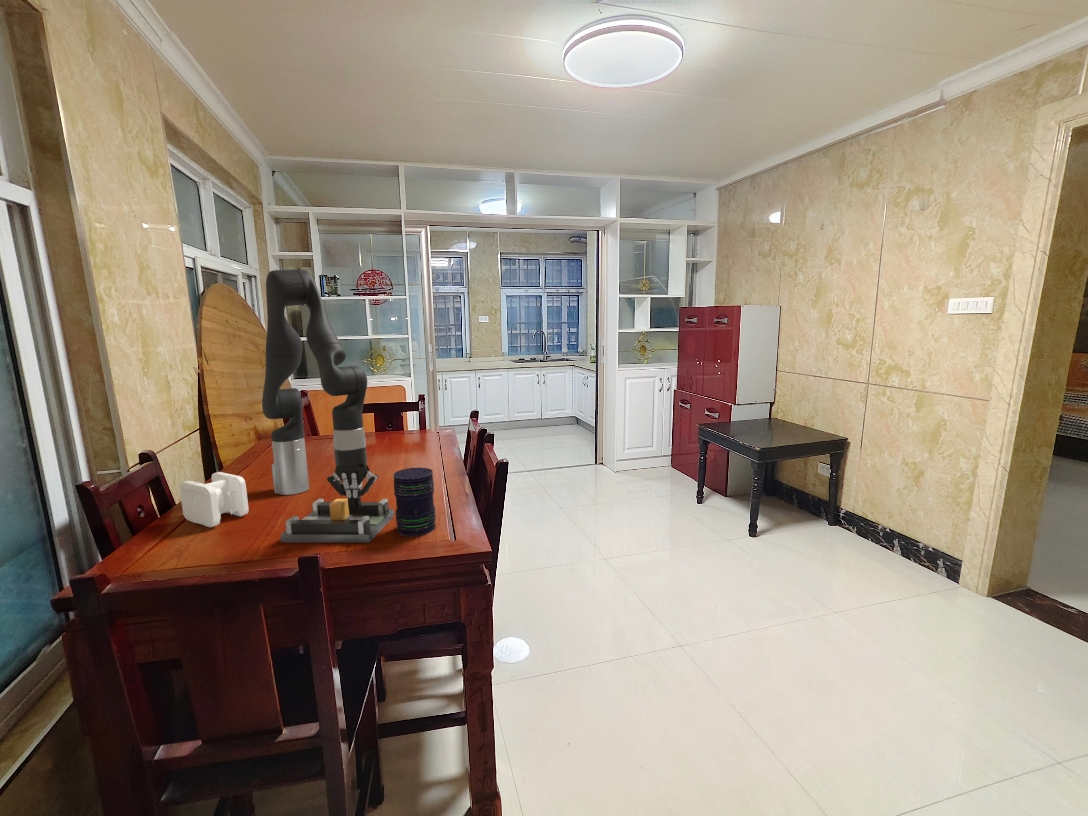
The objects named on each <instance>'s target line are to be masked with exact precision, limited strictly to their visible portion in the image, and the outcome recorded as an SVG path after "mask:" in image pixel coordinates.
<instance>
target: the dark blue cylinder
mask: <svg viewBox="0 0 1088 816" xmlns="http://www.w3.org/2000/svg"><path fill="white" fill-rule="evenodd" d="M433 475H434V473H433V470H432V469H431V468H428V467H410V468H403V469H400V470H397V471H395V472H394V473H393V490H394V491H393V495H394V497H395V501H396V503H395V504H396V509H395V521H396V526H397V528H396V529H397V530H396V531H397V534H399V535H400V536H404V537H410V536H411V537H420V536H419V535H421V536H424V534H425V535H428V534H430V533H433V532H434V531H435V529H436V528H437V525H436V518H437V517H436V515H437V514H436V506H435V505H434V504H435V502H434V493H435V487H434V486H435V482H434V476H433ZM427 533H428V534H427Z"/></svg>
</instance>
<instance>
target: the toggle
mask: <svg viewBox="0 0 1088 816" xmlns="http://www.w3.org/2000/svg"><path fill="white" fill-rule="evenodd" d="M331 502H332V503H330V504H329V506H330V517H331V520H350V519H351V518H352V515H349V508H348V498H336V499H334V500H333V501H331Z"/></svg>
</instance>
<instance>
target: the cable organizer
mask: <svg viewBox="0 0 1088 816" xmlns="http://www.w3.org/2000/svg"><path fill="white" fill-rule="evenodd" d="M210 479H211V482H209V483H202V482H201V483H200V482H197V481H192V480H184V481H182V482H180V483H179V486H178V487H179V494H180V501H181V507H182V508H181V509H182V514H183V516H184V518H185V519H186V521H190V522H191V523H195V524H199V525H201V526H204V527H207V528H214V527H215V526H218V525H220V523H221V519H222V516H221V515H222V514H230V516H232V515H234V516H237V517H240V518H241V517H243V516H244V515H247V514H248V513H249V501H248V493H247V492H248V491H247V485H246V480H245V479H244V477H242V476H240V475H238V474H237V475H236V474H230V473H226V472H222V471H217V472H214V473H212V474H211V478H210Z"/></svg>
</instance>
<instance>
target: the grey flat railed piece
mask: <svg viewBox="0 0 1088 816" xmlns="http://www.w3.org/2000/svg"><path fill="white" fill-rule="evenodd" d="M332 502H333V501H325V500H324V498H318V499H316V500H315V501H313V502H312V505H311V507H312V511H311V512H310V513H308V514H307V515H306V516H304V517H303V518H300V519H299V515H293V516H292V517H290V518H288V519H287V520H286V521H285V531H283V532H282V533H281V534H280V543H324V544H325V543H329V544H330V543H335V544H336V543H341V544H342V543H345V544H346V543H349V544H352V543H357V544H359V543H360V544H363V543H365V544H367V543H371V542H372V540H373V539H374V538H375V537H376V536H378V534H379V533H380V532H381V531H382V530H383V529H384V527H385V526H387V524H388V523H390V521H391V520H392V519H393V518H394V517H395V511H394V508H389V507H390V505H389V500H388V498H382V499H381V500H380V501H361V508H359V510H358V511H351V509H349V515H352V518H351V519H350V520H331V517H330V506H329V504H330V503H332Z"/></svg>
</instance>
